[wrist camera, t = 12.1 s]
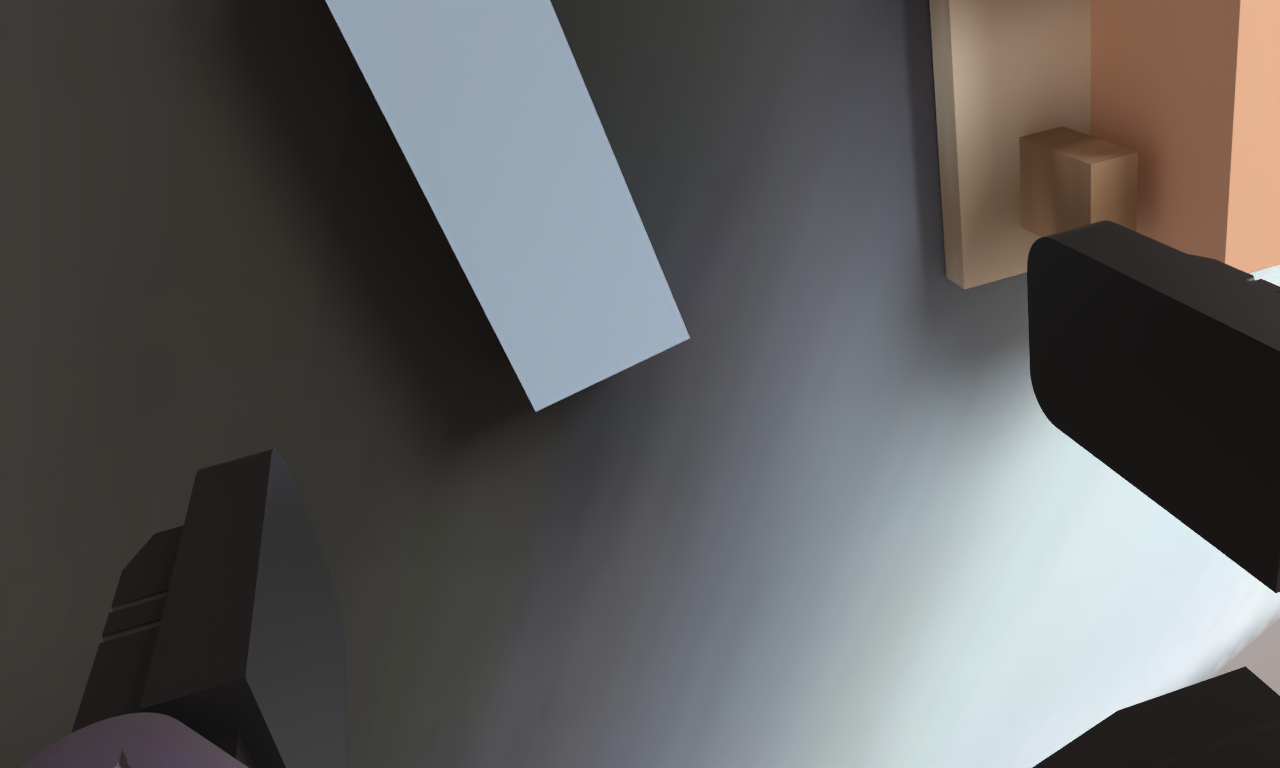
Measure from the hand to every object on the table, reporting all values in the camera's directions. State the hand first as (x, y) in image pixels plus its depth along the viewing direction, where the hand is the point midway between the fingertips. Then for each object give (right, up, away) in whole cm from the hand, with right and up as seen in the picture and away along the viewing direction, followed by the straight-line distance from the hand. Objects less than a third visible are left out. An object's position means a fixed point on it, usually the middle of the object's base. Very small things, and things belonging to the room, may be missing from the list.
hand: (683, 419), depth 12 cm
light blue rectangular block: (-4, +7, +14) cm, 16 cm away
